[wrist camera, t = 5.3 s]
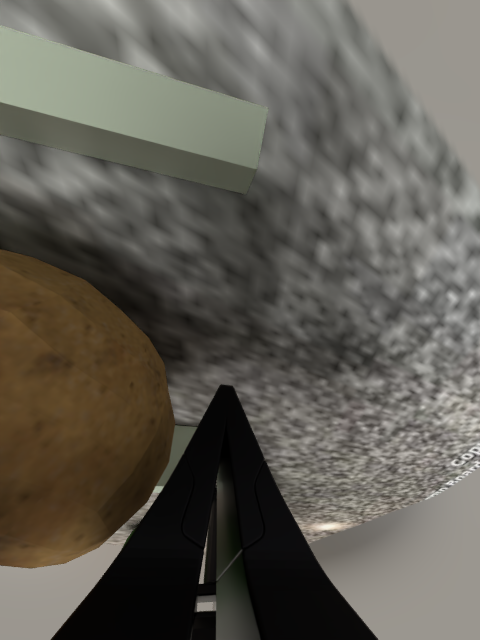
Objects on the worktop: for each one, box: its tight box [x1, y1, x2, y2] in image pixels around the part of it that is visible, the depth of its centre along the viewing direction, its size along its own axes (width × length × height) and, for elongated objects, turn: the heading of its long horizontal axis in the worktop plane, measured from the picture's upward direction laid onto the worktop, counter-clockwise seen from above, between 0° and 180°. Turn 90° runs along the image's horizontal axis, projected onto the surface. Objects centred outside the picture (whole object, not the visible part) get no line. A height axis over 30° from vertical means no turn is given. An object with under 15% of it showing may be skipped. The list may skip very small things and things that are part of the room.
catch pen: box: [0, 25, 268, 493], centre depth 8 cm, size 19×16×5 cm
